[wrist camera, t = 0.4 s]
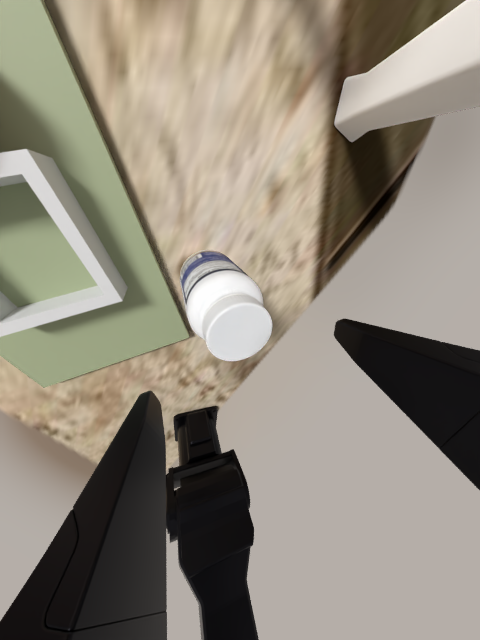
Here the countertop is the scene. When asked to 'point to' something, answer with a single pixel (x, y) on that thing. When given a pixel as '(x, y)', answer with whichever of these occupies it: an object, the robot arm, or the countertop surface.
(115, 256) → the green board with tray
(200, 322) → the pill bottle
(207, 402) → the countertop surface
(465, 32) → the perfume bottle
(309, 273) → the countertop surface
